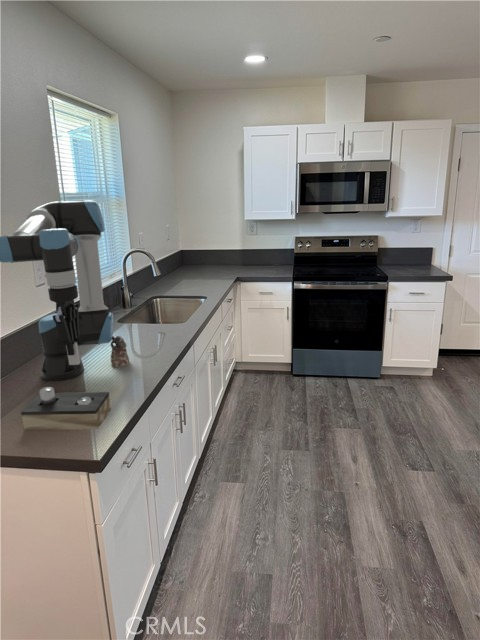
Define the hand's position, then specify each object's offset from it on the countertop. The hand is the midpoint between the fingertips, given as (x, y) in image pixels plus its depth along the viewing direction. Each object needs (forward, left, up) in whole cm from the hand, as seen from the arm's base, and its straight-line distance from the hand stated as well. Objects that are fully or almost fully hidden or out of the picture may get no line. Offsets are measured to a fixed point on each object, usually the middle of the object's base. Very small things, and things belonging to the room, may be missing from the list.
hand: (74, 363), depth 127 cm
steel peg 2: (0, +1, -18) cm, 18 cm away
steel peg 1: (0, -10, -14) cm, 17 cm away
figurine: (-44, -2, -18) cm, 47 cm away
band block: (0, -4, -18) cm, 19 cm away
